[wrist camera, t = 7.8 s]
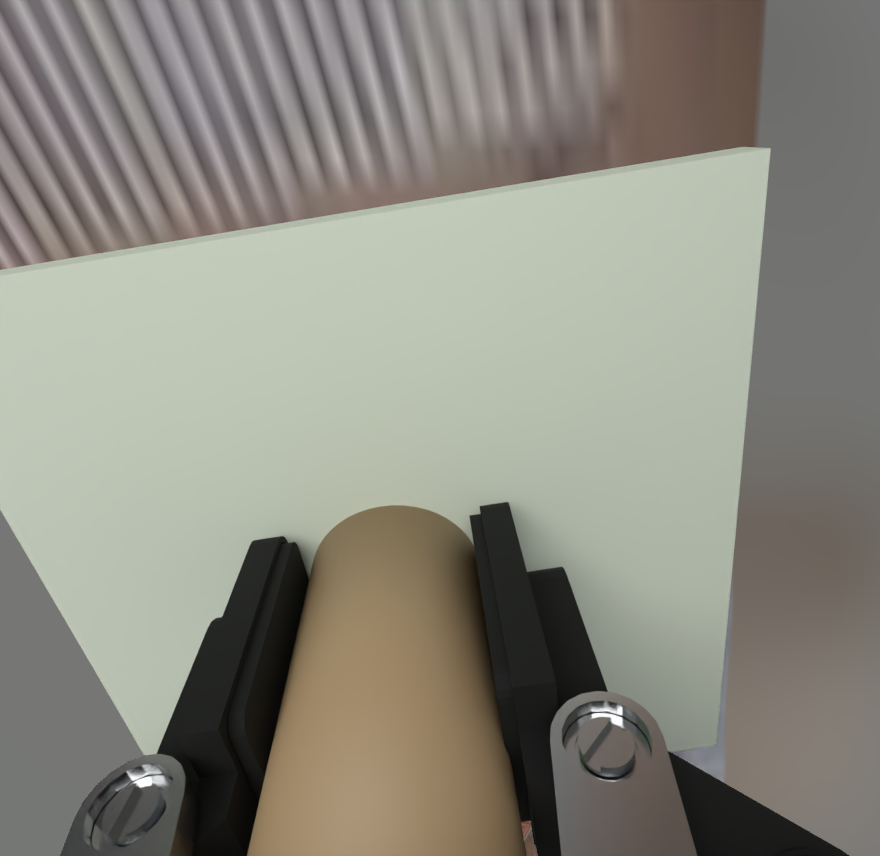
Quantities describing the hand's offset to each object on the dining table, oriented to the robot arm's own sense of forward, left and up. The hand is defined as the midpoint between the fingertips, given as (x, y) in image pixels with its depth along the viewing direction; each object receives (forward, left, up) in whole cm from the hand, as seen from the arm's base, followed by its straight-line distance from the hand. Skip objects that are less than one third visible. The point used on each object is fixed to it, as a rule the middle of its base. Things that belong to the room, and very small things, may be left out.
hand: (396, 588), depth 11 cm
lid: (0, 0, -1) cm, 1 cm away
